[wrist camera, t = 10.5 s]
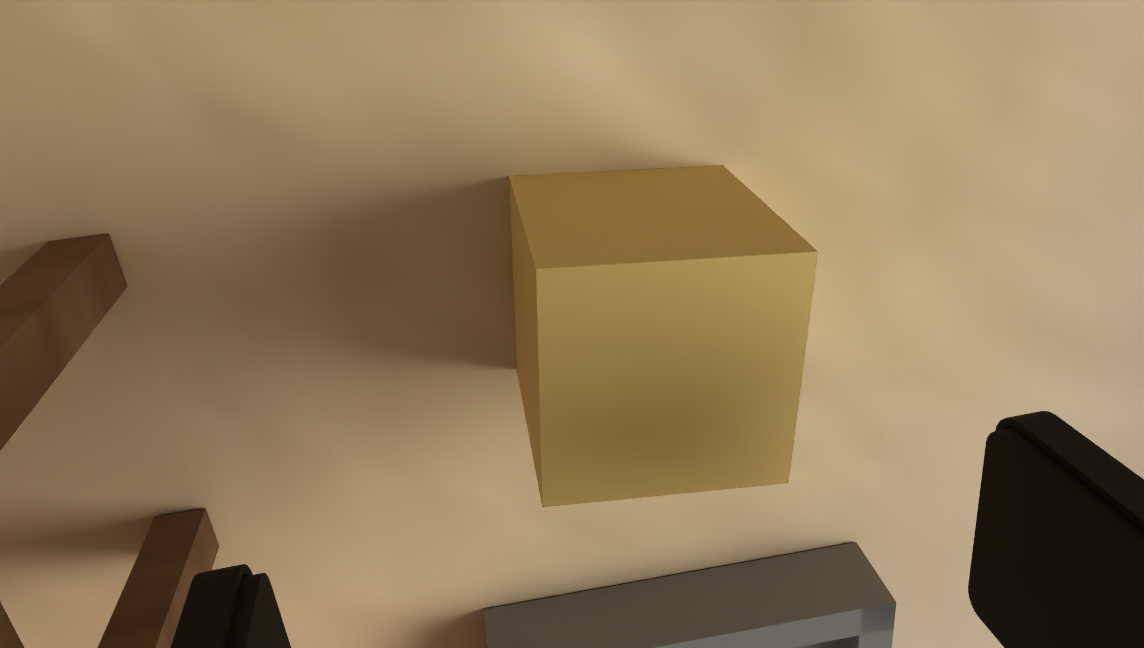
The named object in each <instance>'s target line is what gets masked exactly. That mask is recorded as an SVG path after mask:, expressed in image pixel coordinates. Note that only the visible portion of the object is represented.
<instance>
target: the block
mask: <svg viewBox="0 0 1144 648" xmlns="http://www.w3.org/2000/svg"><path fill="white" fill-rule="evenodd" d="M509 185H510V211H511V236H512V262H513V288H514V313H515V339H516V364H517V374H518V379H519V384H520V390H521V395H522V400H523V406H524V411H525V416H526V422H527V427H528V433H529V438H530V443H531V449H532V454H533V459H534V465H535V470H536V475H537V481H538V486H539V491H540V497H541V502H542V507H548V506H559V505H569V504H579V503H589V502H599V501H610V500H620V499H630V498H640V497H650V496H661V495H671V494H681V493H691V492H701V491H712V490H722V489H732V488H742V487H752V486H763V485H773V484H783V483H789V475H790V467H791V460H792V452H793V444H794V436H795V428H796V420H797V412H798V404H799V397H800V389H801V381H802V373H803V365H804V357H805V349H806V341H807V334H808V326H809V318H810V310H811V302H812V294H813V286H814V278H815V271H816V263H817V255H818V251H817V250H816V249H815V248H813V247H812V246H811V245H810V244H809V243H808V242H807V241H806V240H805V239H804V238H802V237H801V236H800V235H799V234H798V233H797V232H796V231H795V230H794V229H793V228H791V227H790V226H789V225H788V224H787V223H786V222H785V221H784V220H783V219H781V218H780V217H779V216H778V215H777V214H776V213H775V212H774V211H773V210H772V209H770V208H769V207H768V206H767V205H766V204H765V203H764V202H763V201H762V200H761V199H759V198H758V197H757V196H756V195H755V194H754V193H753V192H752V191H751V190H750V189H748V188H747V187H746V186H745V185H744V184H743V183H742V182H741V181H740V180H738V179H737V178H736V177H735V176H734V175H733V174H732V173H731V172H730V171H729V170H727V169H726V168H725V167H724V166H703V167H683V168H662V169H642V170H621V171H601V172H580V173H560V174H539V175H519V176H509Z"/></svg>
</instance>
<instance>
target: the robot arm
mask: <svg viewBox="0 0 1144 648" xmlns="http://www.w3.org/2000/svg"><path fill="white" fill-rule="evenodd" d="M968 593H969V598H970V601H971V604H972V607H973V609H974V611H975V612H976V614H977V615H978V617H979V618H980V619H981V620H982V622H983V623H984V624H985V625H986V626H987V627H988V629H989V630H990V631H991V632H992V633H993V635H994V636H995V637H996V638H997V639H998V640H999V642H1000V643H1001V644H1002V645H1003V646H1004V648H1144V479H1142V478H1141V477H1139V476H1138V475H1137V474H1135V473H1134V472H1133V471H1131V470H1130V469H1129V468H1127V467H1126V466H1124V465H1123V464H1122V463H1120V462H1119V461H1118V460H1116V459H1115V458H1114V457H1112V456H1111V455H1109V454H1108V453H1107V452H1105V451H1104V450H1103V449H1101V448H1100V447H1099V446H1097V445H1096V444H1094V443H1093V442H1092V441H1090V440H1089V439H1088V438H1086V437H1085V436H1083V435H1082V434H1081V433H1079V432H1078V431H1077V430H1075V429H1074V428H1073V427H1071V426H1070V425H1068V424H1067V423H1066V422H1064V421H1063V420H1062V419H1060V418H1059V417H1058V416H1056V415H1054V414H1053V413H1051V412H1048V411H1040V412H1035V413H1030V414H1024V415H1019V416H1014V417H1009V418H1005V419H1003V420H1001V421H1000V422H999V423H998V425H997V427H996V431H995V432H992V433H990V435H989V436H988V438H987V441H986V448H985V456H984V464H983V472H982V480H981V488H980V496H979V504H978V512H977V520H976V529H975V537H974V545H973V553H972V561H971V569H970V577H969V585H968ZM170 648H291V646H290V643H289V640H288V637H287V633H286V630H285V627H284V624H283V621H282V618H281V614H280V611H279V608H278V605H277V602H276V599H275V595H274V592H273V589H272V586H271V583H270V580H269V578H268V576H267V575H266V574H265V573H261V574H256V575H253V574H252V572H251V570H250V568H249V567H248V565H245V564H242V565H237V566H232V567H227V568H222V569H216V570H211V571H206V572H201V573H197V574H196V575H195V576H194V578H193V580H192V582H191V585H190V588H189V591H188V594H187V598H186V601H185V604H184V607H183V610H182V613H181V616H180V619H179V623H178V626H177V629H176V632H175V635H174V638H173V641H172V644H171V647H170Z"/></svg>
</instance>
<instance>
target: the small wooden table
mask: <svg viewBox="0 0 1144 648" xmlns="http://www.w3.org/2000/svg"><path fill="white" fill-rule="evenodd" d="M126 287H127V284H126V281H125V279H124V276H123V273H122V270H121V267H120V264H119V262H118V259H117V256H116V253H115V250H114V247H113V245H112V242H111V239H110V236H109V234H103V235H95V236H87V237H80V238H72V239H65V240H57V241H50V242H48V243H46V244H45V245H44V246H43V247H42V248H41V249H40V250H39V251H38V252H37V253H35V254H34V255H33V256H32V257H31V258H30V259H29V260H28V261H27V262H26V263H24V264H23V265H22V266H21V267H20V268H19V269H18V270H17V271H16V272H15V273H13V274H12V275H11V276H10V277H9V278H8V279H7V280H6V281H5V282H4V283H2V284H1V285H0V450H1V449H2V448H3V447H4V445H5V444H6V443H7V441H8V440H9V439H10V437H11V436H12V435H13V434H14V432H15V431H16V430H17V428H18V427H19V426H20V424H21V423H22V422H23V421H24V419H25V418H26V417H27V415H28V414H29V413H30V412H31V410H32V409H33V408H34V406H35V405H36V404H37V402H38V401H39V400H40V399H41V397H42V396H43V395H44V393H45V392H46V391H47V389H48V388H49V387H50V386H51V384H52V383H53V382H54V380H55V379H56V378H57V376H58V375H59V374H60V373H61V371H62V370H63V369H64V367H65V366H66V365H67V364H68V362H69V361H70V360H71V358H72V357H73V356H74V354H75V353H76V352H77V351H78V349H79V348H80V347H81V345H82V344H83V343H84V341H85V340H86V339H87V338H88V336H89V335H90V334H91V332H92V331H93V330H94V328H95V327H96V326H97V325H98V323H99V322H100V321H101V319H102V318H103V317H104V316H105V314H106V313H107V312H108V310H109V309H110V308H111V306H112V305H113V304H114V303H115V301H116V300H117V299H118V297H119V296H120V295H121V293H122V292H123V291H124V290H125V288H126ZM218 548H219V545H218V542H217V539H216V536H215V534H214V531H213V528H212V525H211V522H210V519H209V517H208V514H207V511H206V508H205V509H199V510H193V511H186V512H180V513H174V514H168V515H162V516H156V517H155V518H154V520H153V523H152V525H151V527H150V530H149V532H148V534H147V536H146V539H145V541H144V543H143V546H142V548H141V550H140V552H139V555H138V557H137V559H136V562H135V564H134V566H133V568H132V571H131V573H130V575H129V577H128V580H127V582H126V584H125V587H124V589H123V591H122V593H121V596H120V598H119V600H118V603H117V605H116V607H115V609H114V612H113V614H112V616H111V619H110V621H109V623H108V625H107V628H106V630H105V632H104V634H103V637H102V639H101V641H100V644H99V646H98V648H170V647H171V644H172V641H173V638H174V635H175V632H176V629H177V626H178V623H179V619H180V616H181V613H182V610H183V607H184V604H185V601H186V598H187V594H188V591H189V588H190V585H191V582H192V580H193V578H194V576H195V575H196V574H197V573H201V572H206V571H211V570H212V566H213V563H214V560H215V557H216V554H217V551H218ZM0 648H24V646H23V644H22V642H21V641H20V639H19V637H18V635H17V633H16V631H15V629H14V627H13V625H12V623H11V621H10V619H9V617H8V615H7V614H6V612H5V610H4V608H3V606H2V604H1V602H0Z"/></svg>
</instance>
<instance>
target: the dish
mask: <svg viewBox="0 0 1144 648" xmlns="http://www.w3.org/2000/svg"><path fill="white" fill-rule="evenodd" d="M895 609H896V601H895V600H894V598H893V597H892V595H891V594H890V592H889V591H888V589H887V588H886V586H885V585H884V583H883V582H882V580H881V579H880V577H879V576H878V574H877V573H876V571H875V570H874V568H873V567H872V565H871V564H870V562H869V561H868V559H867V558H866V556H865V555H864V553H863V552H862V550H861V549H860V547H859V546H858V544H857V543H856V542H855V543H849V544H844V545H838V546H833V547H827V548H821V549H816V550H810V551H805V552H799V553H794V554H788V555H783V556H777V557H772V558H766V559H760V560H755V561H749V562H744V563H738V564H733V565H727V566H722V567H716V568H711V569H705V570H699V571H694V572H688V573H683V574H677V575H672V576H666V577H661V578H655V579H649V580H644V581H638V582H633V583H627V584H622V585H616V586H611V587H605V588H600V589H594V590H588V591H583V592H577V593H572V594H566V595H561V596H555V597H550V598H544V599H538V600H533V601H527V602H522V603H516V604H511V605H505V606H500V607H494V608H489V609H484V621H485V634H486V646H487V648H892V638H893V628H894V618H895Z"/></svg>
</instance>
